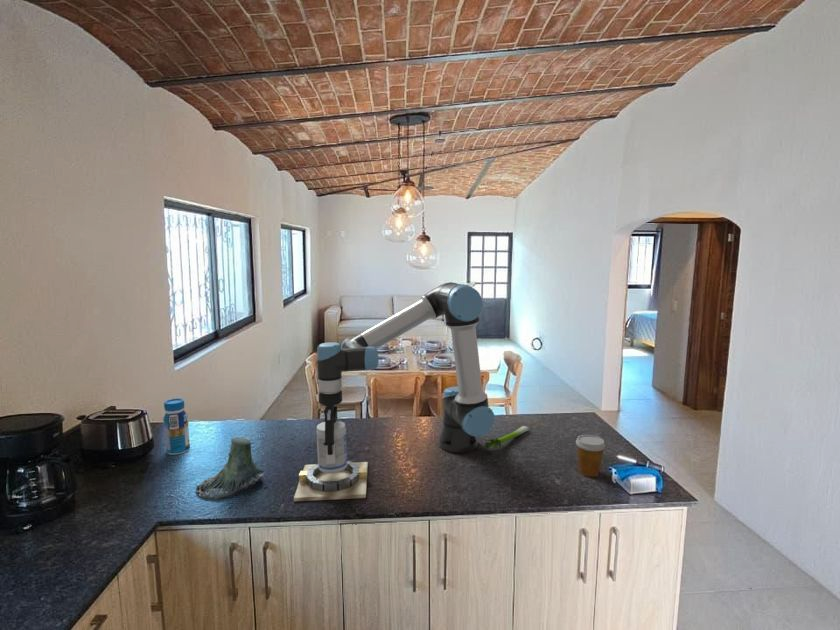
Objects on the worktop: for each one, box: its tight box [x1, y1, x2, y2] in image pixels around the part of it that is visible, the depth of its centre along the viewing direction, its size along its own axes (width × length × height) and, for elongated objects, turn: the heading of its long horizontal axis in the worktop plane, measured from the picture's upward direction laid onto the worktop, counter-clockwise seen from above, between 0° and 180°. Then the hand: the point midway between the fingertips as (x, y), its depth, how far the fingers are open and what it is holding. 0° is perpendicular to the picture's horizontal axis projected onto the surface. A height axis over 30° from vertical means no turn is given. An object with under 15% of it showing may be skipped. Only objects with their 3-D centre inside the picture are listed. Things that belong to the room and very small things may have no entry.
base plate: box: [293, 461, 369, 502], centre depth 157 cm, size 22×22×1 cm
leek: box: [483, 425, 530, 452], centre depth 188 cm, size 6×7×30 cm
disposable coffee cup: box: [575, 434, 606, 478], centre depth 162 cm, size 10×10×12 cm
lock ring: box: [298, 460, 368, 492], centre depth 157 cm, size 22×17×2 cm
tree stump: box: [195, 436, 265, 501], centre depth 156 cm, size 18×20×18 cm
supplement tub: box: [316, 420, 348, 473], centre depth 156 cm, size 10×10×15 cm
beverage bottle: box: [162, 398, 191, 456], centre depth 181 cm, size 8×8×20 cm
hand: (332, 455), depth 156 cm, fingers closed on supplement tub, 10 cm apart
